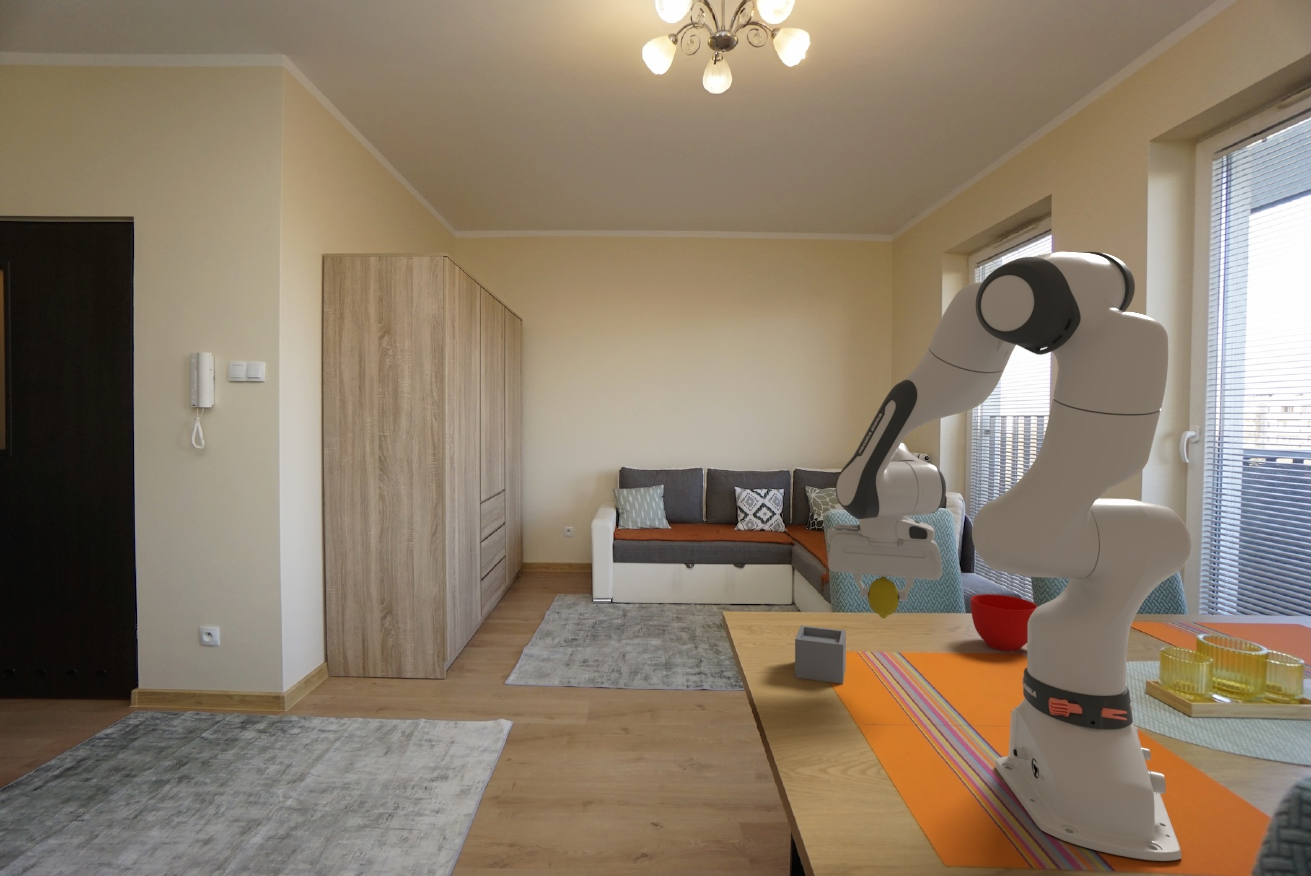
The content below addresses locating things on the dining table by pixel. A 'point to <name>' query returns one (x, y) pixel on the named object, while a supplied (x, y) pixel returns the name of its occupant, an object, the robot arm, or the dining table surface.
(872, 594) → the lemon
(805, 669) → the grey open box
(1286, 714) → the dining table surface
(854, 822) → the dining table surface
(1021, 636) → the red bowl
